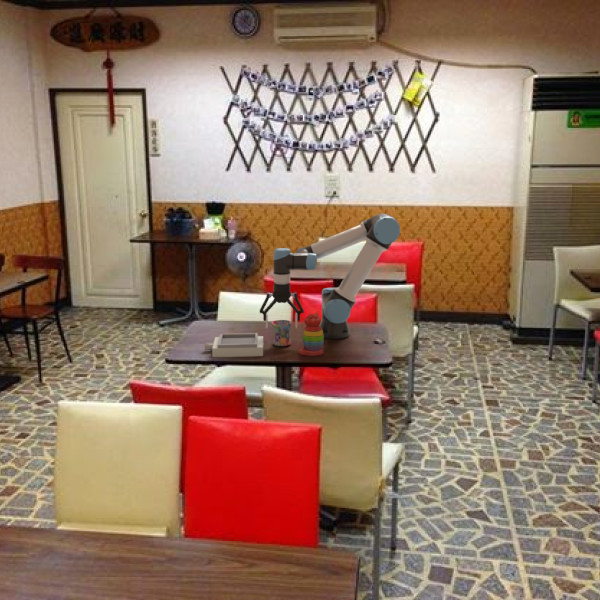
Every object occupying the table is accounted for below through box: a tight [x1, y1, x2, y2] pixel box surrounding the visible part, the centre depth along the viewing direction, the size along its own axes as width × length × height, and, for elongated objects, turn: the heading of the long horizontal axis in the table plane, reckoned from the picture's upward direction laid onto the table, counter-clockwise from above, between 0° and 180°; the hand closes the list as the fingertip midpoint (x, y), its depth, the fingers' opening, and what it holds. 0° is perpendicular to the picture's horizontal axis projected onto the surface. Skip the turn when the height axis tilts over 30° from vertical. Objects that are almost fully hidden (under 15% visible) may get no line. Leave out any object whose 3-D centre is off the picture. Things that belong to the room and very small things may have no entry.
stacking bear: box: [297, 312, 325, 356], centre depth 294 cm, size 11×10×18 cm
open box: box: [204, 332, 264, 358], centre depth 299 cm, size 26×17×6 cm, turn 93°
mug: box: [271, 319, 293, 347], centre depth 308 cm, size 12×9×11 cm
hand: (281, 327), depth 308 cm, fingers open, 13 cm apart
